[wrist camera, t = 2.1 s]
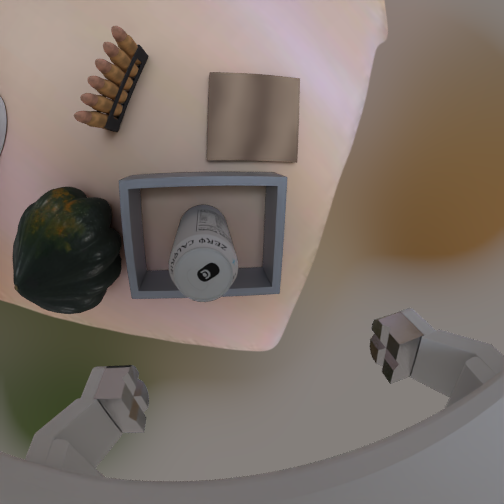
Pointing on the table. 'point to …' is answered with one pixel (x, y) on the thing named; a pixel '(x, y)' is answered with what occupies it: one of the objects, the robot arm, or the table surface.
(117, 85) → the ammunition clip
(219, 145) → the walnut pad
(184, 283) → the energy drink can
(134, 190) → the grey rectangular open frame
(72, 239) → the squash
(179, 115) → the table surface
